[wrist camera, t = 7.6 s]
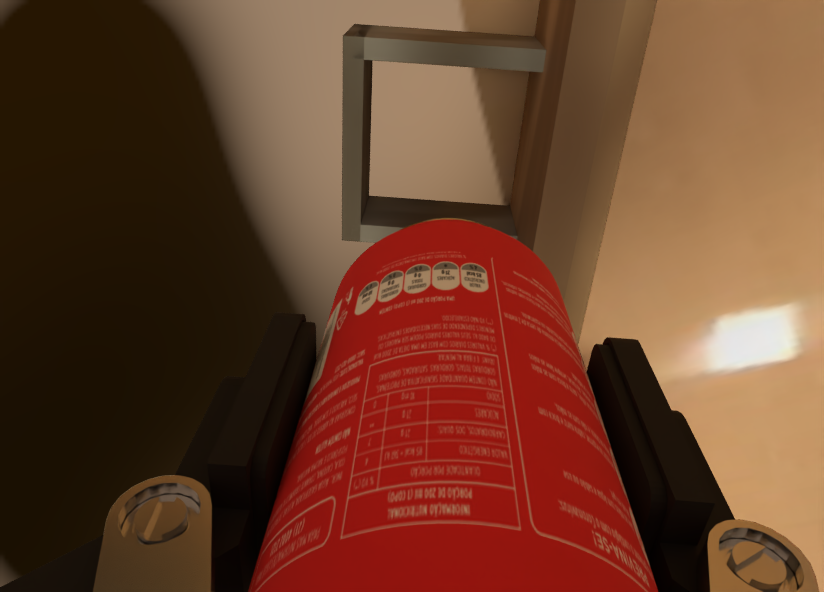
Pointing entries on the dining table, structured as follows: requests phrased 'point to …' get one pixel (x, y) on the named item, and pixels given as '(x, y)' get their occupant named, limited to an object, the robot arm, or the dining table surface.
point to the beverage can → (450, 435)
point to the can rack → (540, 133)
